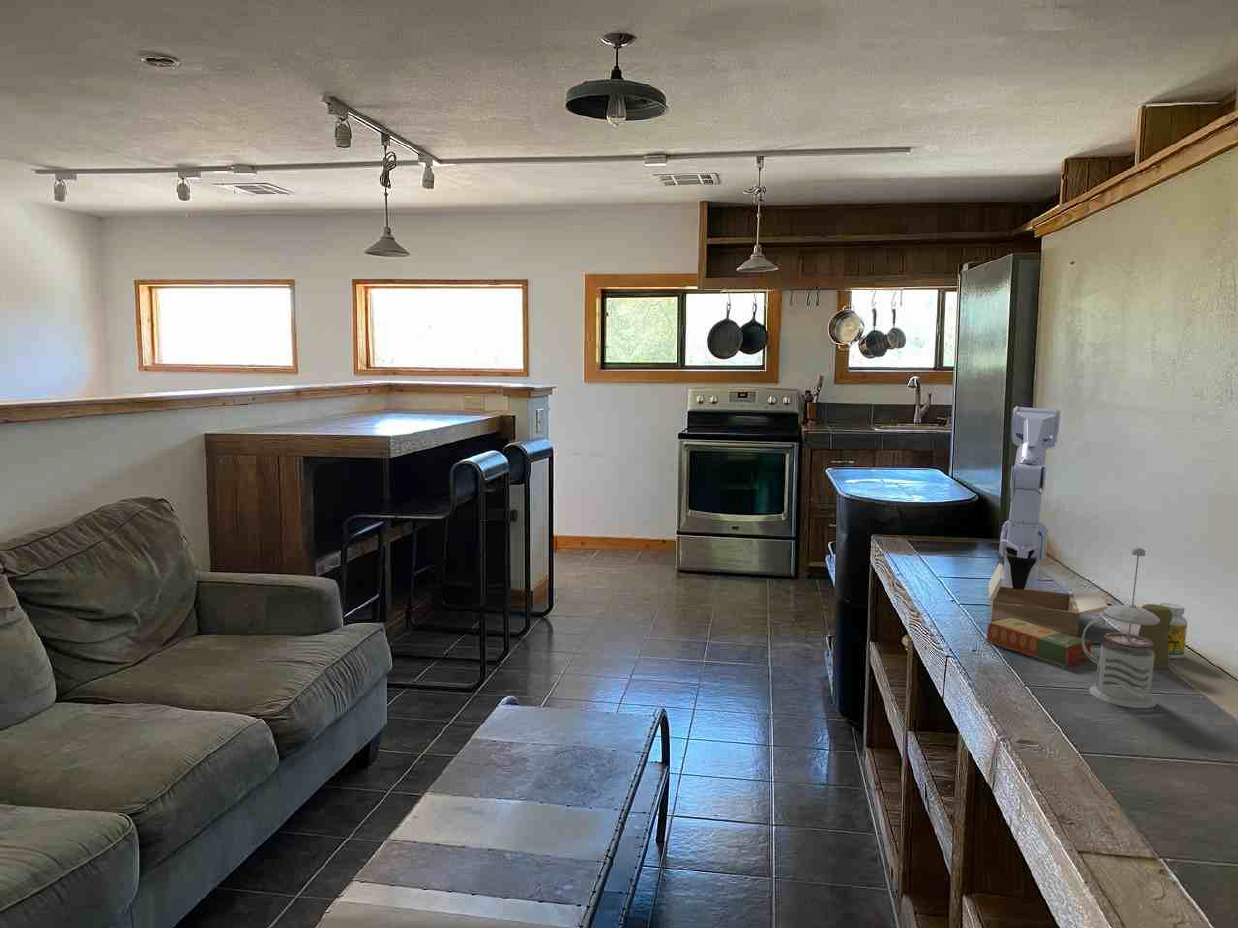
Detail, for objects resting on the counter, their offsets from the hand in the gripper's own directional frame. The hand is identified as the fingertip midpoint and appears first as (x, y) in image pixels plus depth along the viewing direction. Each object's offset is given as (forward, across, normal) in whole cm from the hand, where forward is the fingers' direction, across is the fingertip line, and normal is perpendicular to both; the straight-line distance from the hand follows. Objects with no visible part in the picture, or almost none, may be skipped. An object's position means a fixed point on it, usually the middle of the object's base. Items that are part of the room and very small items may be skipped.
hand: (1017, 584), depth 190 cm
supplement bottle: (+8, +11, +26) cm, 30 cm away
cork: (+8, +19, +22) cm, 30 cm away
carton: (+8, +21, +3) cm, 23 cm away
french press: (+8, +40, +14) cm, 43 cm away
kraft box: (+7, 0, +3) cm, 8 cm away
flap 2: (+1, 0, +14) cm, 14 cm away
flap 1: (0, 0, -4) cm, 4 cm away
